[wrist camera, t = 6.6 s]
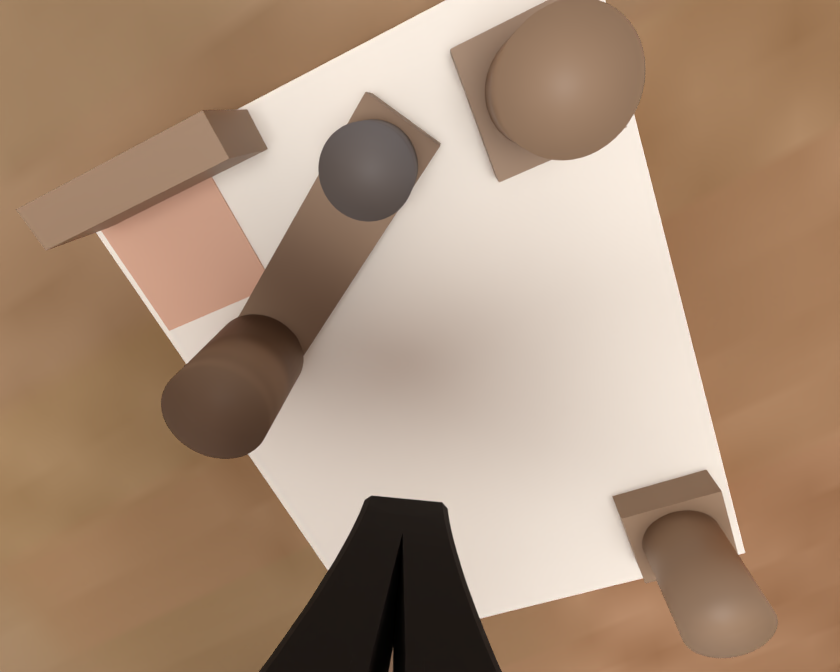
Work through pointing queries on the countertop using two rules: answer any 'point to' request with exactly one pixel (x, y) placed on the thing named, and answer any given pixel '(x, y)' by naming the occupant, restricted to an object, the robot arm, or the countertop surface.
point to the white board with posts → (463, 310)
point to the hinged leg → (299, 284)
